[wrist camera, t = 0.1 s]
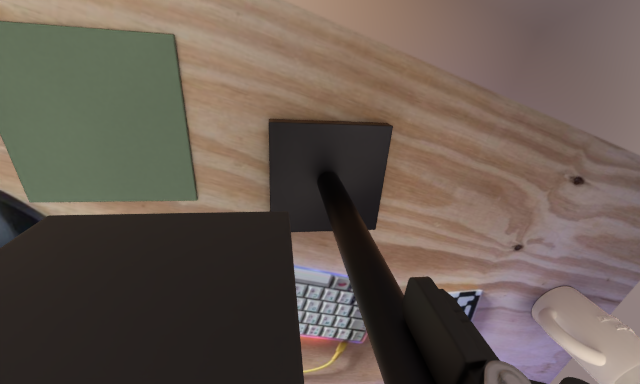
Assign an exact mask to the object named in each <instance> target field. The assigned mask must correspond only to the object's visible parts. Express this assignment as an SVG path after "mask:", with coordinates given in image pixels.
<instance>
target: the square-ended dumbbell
mask: <svg viewBox="0 0 640 384" xmlns="http://www.w3.org/2000/svg"><path fill="white" fill-rule="evenodd" d="M0 384H304V376H303V365H302V354H301V342H300V331H299V320H298V309H297V297H296V286H295V275H294V264H293V252H292V241H291V230H290V219H289V213H288V212H287V211H280V212H224V213H168V214H112V215H56V216H47V217H46V218H44V219H43V220H41V221H40V222H38V223H37V224H35V225H34V226H32V227H31V228H29V229H28V230H26V231H25V232H23V233H22V234H21V235H19V236H18V237H16V238H15V239H13V240H12V241H10V242H9V243H7V244H6V245H4V246H3V247H1V248H0Z"/></svg>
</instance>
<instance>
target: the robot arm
mask: <svg viewBox="0 0 640 384" xmlns="http://www.w3.org/2000/svg"><path fill="white" fill-rule="evenodd" d="M402 313H403V317H404V319H405V321H406V323H407V325H408V327H409V330H410V332H411V334H412V336H413V338H414V340H415V342H416V344H417V346H418V348H419V350H420V352H421V354H422V356H423V358H424V360H425V362H426V365H427V367H428V369H429V371H430V373H431V375H432V377H433V379H434V381H435V383H436V384H546V383H542V382H537V381H533V380H529V379H528V378H527V377H526V376H525V375H524V374H523V373H522V372H521V371H519V370H518V369H517V368H515V367H514V366H512V365H510V364H508V363H506V362H503V361H500V360H499V359H498V357H497V356H496V355H495V353H494V352H493V351H492V349H491V348H490V346H489V345H488V344H487V342H486V341H485V340H484V338H483V337H482V336H481V334H480V333H479V331H478V330H477V329H476V327H475V326H474V325H473V323H472V322H471V321H469V318H468V316H467V315H466V314H465V312H463V311H462V308H461V307H460V305H459V304H458V303H457V301H456V300H455V299H454V298H453V297H452V296H451V295H450V294H448V293H447V292H446V291H445V290H443V289H438V288H437V286H436V285H435V283H434V282H433V280H432V279H431V278H430V277H411V278H410V279H409V281H408V284H407V287H406V291H405V295H404V298H403V302H402ZM559 384H589V383H587V382H585V381H583V380H580V379H577V378H573V377H567V378H564V379H563V380H562V381H561V382H560V383H559Z"/></svg>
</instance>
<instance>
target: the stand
mask: <svg viewBox="0 0 640 384" xmlns="http://www.w3.org/2000/svg"><path fill="white" fill-rule="evenodd" d="M392 129H393V126H392V125H390V124H388V123H373V122H344V121H314V120H285V119H269V165H270V212H280V211H287V212H288V213H289V219H290V230H291V232H312V231H333V233H334V236H335V239H336V242H337V245H338V248H339V251H340V254H341V257H342V259H343V262H344V265H345V268H346V271H347V274H348V277H349V280H350V283H351V286H352V289H353V292H354V295H355V298H356V301H357V304H358V307H359V310H360V313H361V316H362V319H363V321H364V324H365V327H366V330H367V333H368V336H369V339H370V342H371V345H372V348H373V351H374V354H375V357H376V360H377V363H378V366H379V369H380V372H381V375H382V378H383V381H384V384H436V383H435V381H434V379H433V377H432V375H431V373H430V371H429V369H428V367H427V365H426V362H425V360H424V358H423V356H422V354H421V352H420V350H419V348H418V346H417V344H416V342H415V340H414V338H413V336H412V334H411V332H410V330H409V327H408V325H407V323H406V321H405V319H404V317H403V313H402V302H403V298H404V295H403V293H402V291H401V289H400V287H399V285H398V284H397V282H396V280H395V278H394V276H393V275H392V273H391V271H390V269H389V267H388V265H387V264H386V262H385V260H384V258H383V256H382V255H381V253H380V251H379V249H378V247H377V245H376V244H375V242H374V240H373V238H372V236H371V235H370V233H369V231H368V230H375V229H376V223H377V217H378V211H379V205H380V199H381V194H382V188H383V182H384V176H385V170H386V164H387V158H388V152H389V147H390V141H391V135H392Z"/></svg>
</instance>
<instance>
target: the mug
mask: <svg viewBox="0 0 640 384" xmlns="http://www.w3.org/2000/svg"><path fill="white" fill-rule="evenodd" d="M532 316H533V319H534V320H535V321H536V322H537V323H538V324H539V325H540V326H541V327H542V328H543V329H544V331H545V332H546V333H547V334H548V335H549V336H550V337H551V338H552V339H553V340H554V341H555V342H556V343H558V344H559V345H560V346H561V347H562V348H563V349H564V350H565V351H566V352H567V353H568V354H569V355H570V356H571V357H572V358H573V359H574V360H575V361H576V362H577V363H579V365H580V366H581V367H582V368H583V369H584V370H585V371H586V372H587V373H588V374H589V375H590V376H592V377H593V379H594V380H596V382H597V383H598V384H640V338H639V337H638V336H636V335H635V334H634V333H635V332H634V331H633V330H631V329H630V328H629V327H628V326H626V325H623V323H622V322H621V321H620V320H618V319H617V318H616V317H614V316H612V315H609V314H607V313H606V312H605V311H603V310H602V309H601V308H600V307H598V306H597V305H596V304H594V303H593V302H592V301H590V300H589V299H588V298H586V297H585V296H584V295H582V294H581V293H580V292H578V291H577V290H576V289H574V288H572V287H569V286H562V287H557V288H555V289H552V290H550V291H548V292H547V293H545V294H544V295H542V296H541V297H540V298H539V299H538V300H537V301H536V303H535V304H534V306H533V308H532Z"/></svg>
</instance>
